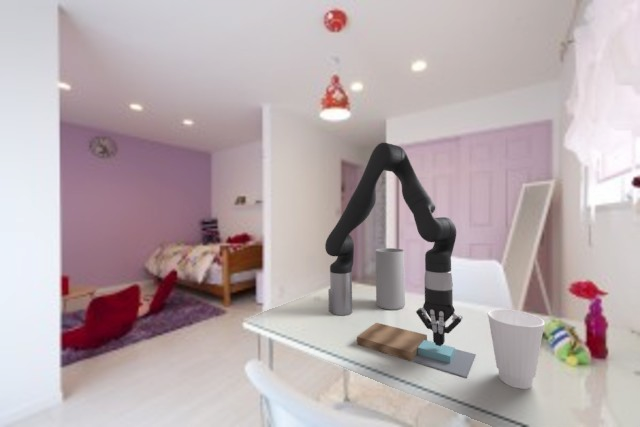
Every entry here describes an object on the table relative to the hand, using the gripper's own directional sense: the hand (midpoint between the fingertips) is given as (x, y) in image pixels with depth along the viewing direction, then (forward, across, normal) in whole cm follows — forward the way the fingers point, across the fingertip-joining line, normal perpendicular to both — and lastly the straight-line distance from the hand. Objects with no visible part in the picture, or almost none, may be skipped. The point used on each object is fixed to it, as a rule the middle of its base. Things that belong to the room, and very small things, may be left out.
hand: (439, 344), depth 83 cm
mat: (+4, +2, 0) cm, 4 cm away
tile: (+3, -1, 0) cm, 3 cm away
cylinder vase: (+4, -30, +34) cm, 45 cm away
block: (+4, -14, 0) cm, 15 cm away
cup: (+4, +18, -1) cm, 19 cm away
